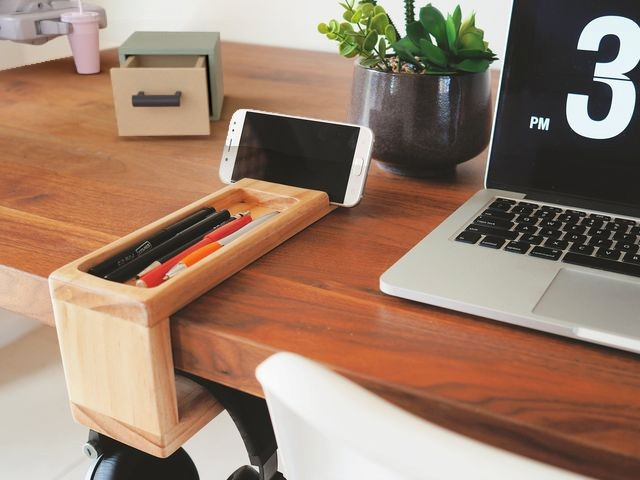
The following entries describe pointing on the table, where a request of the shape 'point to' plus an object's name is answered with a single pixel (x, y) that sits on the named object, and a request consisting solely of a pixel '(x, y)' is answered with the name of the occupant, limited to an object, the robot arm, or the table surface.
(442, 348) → the table surface
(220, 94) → the cabinet
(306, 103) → the table surface
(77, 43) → the smoothie
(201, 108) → the drawer
